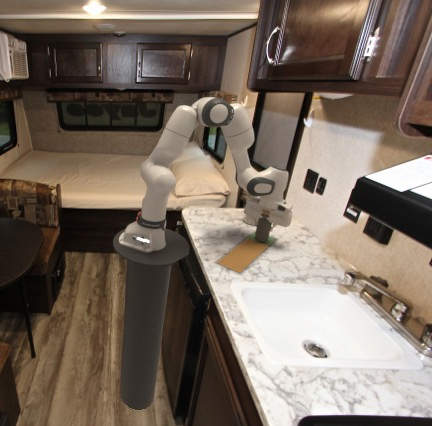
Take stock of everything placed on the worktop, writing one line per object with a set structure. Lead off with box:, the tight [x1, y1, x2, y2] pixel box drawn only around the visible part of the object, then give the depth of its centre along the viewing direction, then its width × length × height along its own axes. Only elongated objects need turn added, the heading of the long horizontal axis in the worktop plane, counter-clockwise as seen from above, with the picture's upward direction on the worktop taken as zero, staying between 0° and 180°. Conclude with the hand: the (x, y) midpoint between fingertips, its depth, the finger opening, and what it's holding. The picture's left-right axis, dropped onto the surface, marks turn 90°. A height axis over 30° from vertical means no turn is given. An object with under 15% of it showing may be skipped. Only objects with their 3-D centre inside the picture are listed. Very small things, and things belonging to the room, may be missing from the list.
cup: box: [243, 214, 258, 226], centre depth 157 cm, size 10×9×12 cm
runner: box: [216, 237, 269, 274], centre depth 130 cm, size 31×10×1 cm, turn 134°
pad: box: [247, 231, 277, 247], centre depth 143 cm, size 10×10×1 cm
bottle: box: [255, 210, 273, 241], centre depth 137 cm, size 6×6×15 cm
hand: (263, 228), depth 139 cm, fingers closed on bottle, 5 cm apart
